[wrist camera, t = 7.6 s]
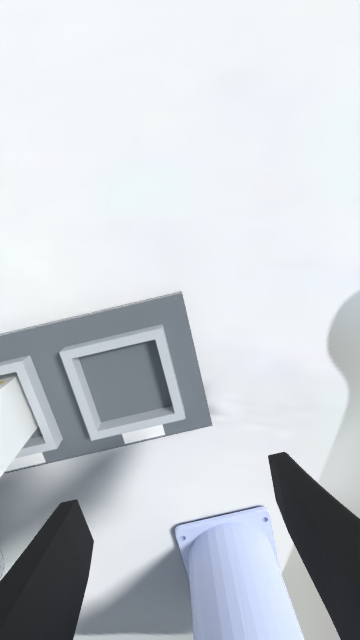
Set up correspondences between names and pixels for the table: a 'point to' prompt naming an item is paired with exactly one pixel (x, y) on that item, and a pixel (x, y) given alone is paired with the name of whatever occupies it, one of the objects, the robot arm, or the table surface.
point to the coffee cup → (1, 564)
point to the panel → (106, 379)
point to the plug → (14, 420)
